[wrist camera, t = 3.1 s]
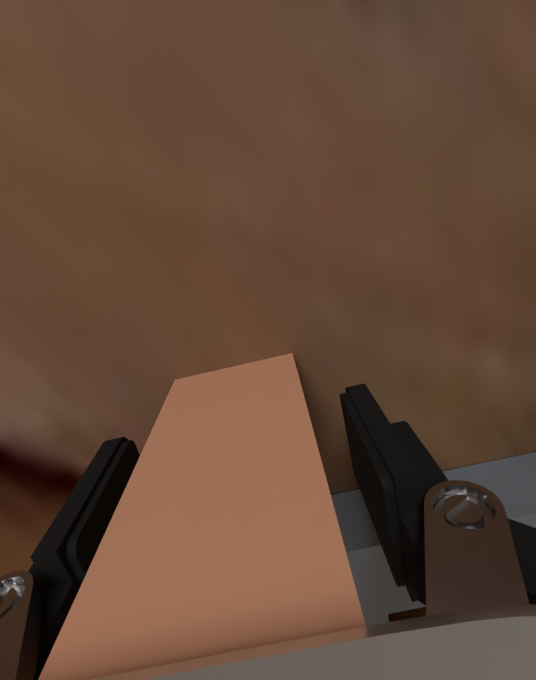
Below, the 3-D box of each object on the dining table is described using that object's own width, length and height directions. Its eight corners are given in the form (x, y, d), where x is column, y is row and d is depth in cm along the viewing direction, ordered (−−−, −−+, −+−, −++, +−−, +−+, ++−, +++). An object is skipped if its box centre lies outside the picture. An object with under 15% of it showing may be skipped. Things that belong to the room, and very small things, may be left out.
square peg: (174, 379, 12) (6, 749, 4) (292, 353, 12) (379, 677, 4) (208, 475, 14) (136, 905, 5) (314, 452, 14) (416, 857, 5)
